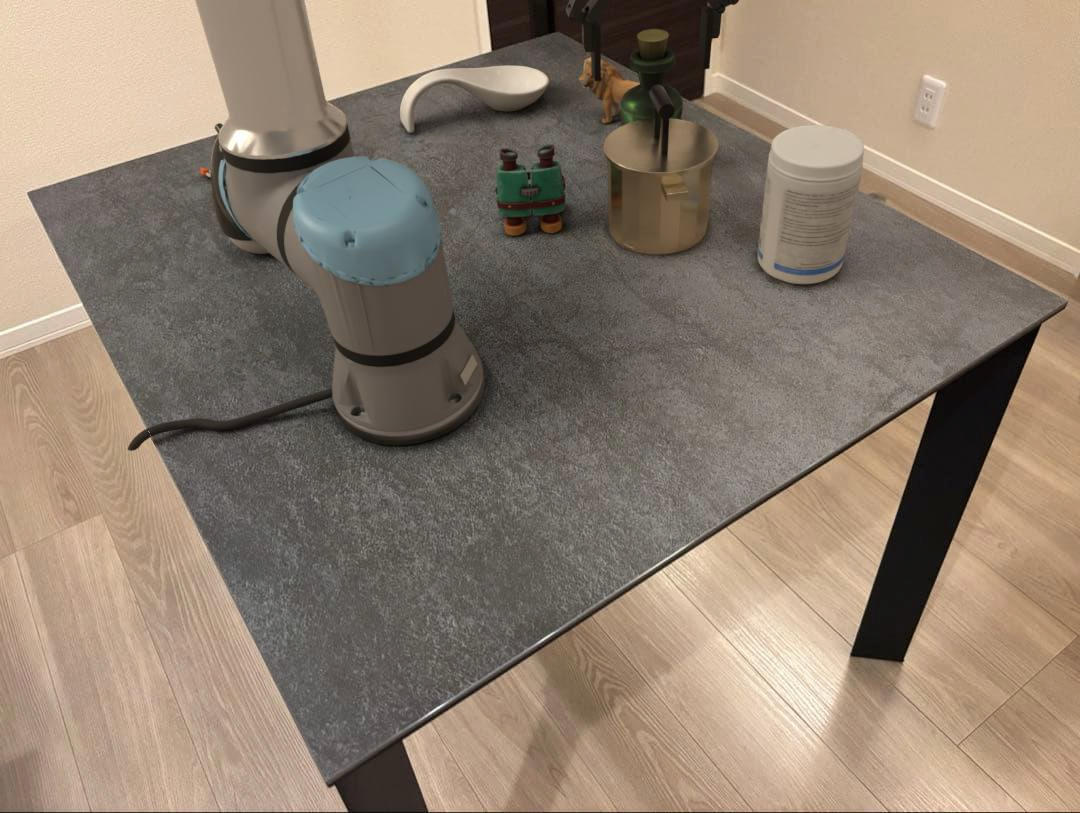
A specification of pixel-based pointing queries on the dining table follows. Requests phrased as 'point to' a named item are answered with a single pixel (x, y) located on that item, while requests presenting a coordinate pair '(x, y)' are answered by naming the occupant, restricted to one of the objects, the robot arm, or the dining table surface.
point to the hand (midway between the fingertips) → (649, 71)
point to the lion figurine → (606, 86)
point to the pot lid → (660, 143)
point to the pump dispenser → (222, 213)
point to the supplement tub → (809, 202)
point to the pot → (658, 210)
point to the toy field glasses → (530, 191)
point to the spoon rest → (481, 87)
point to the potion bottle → (649, 77)
